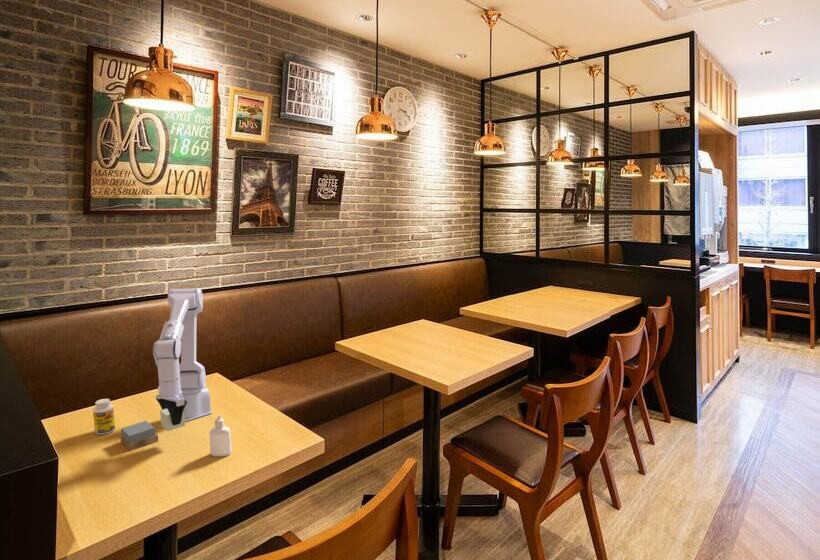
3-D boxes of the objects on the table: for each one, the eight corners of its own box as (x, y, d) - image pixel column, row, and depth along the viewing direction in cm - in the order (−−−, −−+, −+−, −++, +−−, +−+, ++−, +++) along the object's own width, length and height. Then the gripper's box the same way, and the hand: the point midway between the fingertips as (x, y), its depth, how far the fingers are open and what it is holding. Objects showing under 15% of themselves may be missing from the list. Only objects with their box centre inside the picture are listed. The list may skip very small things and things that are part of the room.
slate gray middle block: (146, 428, 154) (145, 420, 154) (155, 435, 149) (154, 427, 149) (122, 436, 149) (121, 428, 148) (130, 443, 144) (129, 436, 144)
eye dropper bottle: (222, 459, 140) (220, 420, 138) (208, 455, 142) (205, 416, 140) (234, 452, 144) (232, 414, 142) (219, 448, 146) (217, 410, 144)
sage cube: (178, 420, 151) (177, 405, 150) (185, 425, 148) (183, 410, 147) (161, 425, 147) (160, 410, 147) (167, 431, 144) (166, 415, 143)
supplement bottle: (95, 437, 152) (92, 406, 150) (95, 430, 157) (91, 400, 155) (116, 432, 155) (113, 402, 153) (115, 425, 160) (112, 396, 158)
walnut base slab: (148, 434, 155) (148, 427, 155) (158, 442, 150) (158, 435, 149) (121, 443, 149) (120, 435, 149) (130, 452, 144) (129, 444, 144)
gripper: (146, 375, 147) (149, 417, 149) (165, 388, 137) (168, 433, 139) (170, 369, 152) (173, 410, 154) (190, 382, 142) (193, 425, 145)
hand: (172, 421), depth 147 cm, fingers closed on sage cube, 5 cm apart
